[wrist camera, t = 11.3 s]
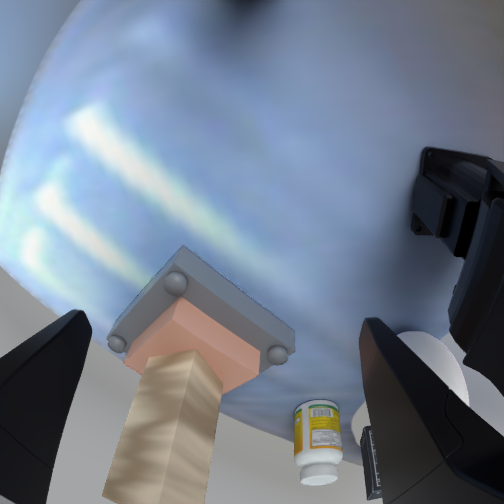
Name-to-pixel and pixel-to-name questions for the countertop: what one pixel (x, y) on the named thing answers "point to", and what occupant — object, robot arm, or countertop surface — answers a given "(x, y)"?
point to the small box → (370, 465)
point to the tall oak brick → (168, 434)
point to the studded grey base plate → (201, 323)
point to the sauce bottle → (437, 360)
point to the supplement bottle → (317, 442)
